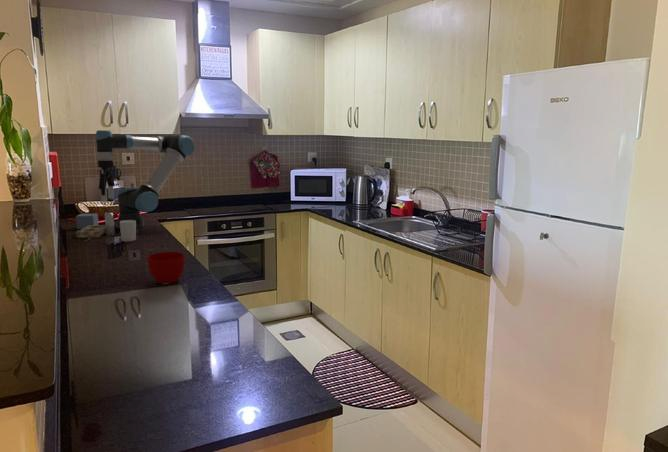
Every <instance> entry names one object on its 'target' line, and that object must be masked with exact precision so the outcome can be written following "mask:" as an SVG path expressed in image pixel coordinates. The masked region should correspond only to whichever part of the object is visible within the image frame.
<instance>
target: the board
mask: <svg viewBox="0 0 668 452" xmlns="http://www.w3.org/2000/svg"><path fill="white" fill-rule="evenodd" d="M104 234H106V225H105V224H100V225H99V224H98V225H88V226H86V227H84V228H82V229H81V230H77V231H76V232H75V235H76V236H75V238H78V239H79V238H99V237H101V236H102V235H104Z"/></svg>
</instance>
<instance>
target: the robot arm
mask: <svg viewBox="0 0 668 452" xmlns="http://www.w3.org/2000/svg"><path fill="white" fill-rule="evenodd" d="M95 141H96V142H95V143H96V144H95V145H96V158H97V160H98V161H97V167H98V168H100V170H99V183H98V190H100V200H101V202H108V199H115V191H114V187H115V186H116V183H115V179H114V175H113V169H112V168H114V160H113V159H114V153H113V151H114V150H113V149H116V150H117V149H125V150H141V151H143V150H144V151H154V152H155V153H163V154H165V155H164V157H163V158H162V159H161V161H160V162H159V164H158V165H157V167H156V168H155V170H154V171H153V173H152V174H151V175H150V177H149V178H148V180H147V181H146V182H145V183H144V184H143V183H142V184H141V185H140V186H139V187H128V188H119V189H118V190H117V204H118V216H117V221H116V224H115V225H116V229H120V223H119V222H120V221H124V220H135V221H136V229H139V228H143V227H144V226H145V221H144V219H143V217H142V215H141V212H142V213H148V212H152V211H154V210H155V209H157V207H158V205H159V197H160V193H159V192H160V191H161V189H162V188H163V186H164V185H165V184H166V182H167V180H168V179H169V177H170V176H171V174H173V171H174V170H175V169H176V167H177V166H178V165H179V163H180V162H184V161H185V159H186V157H187V156H191V155H193V154H194V152H195V148H196V147H195V142H194V140H193V139H192V138H191V136H189V135H185V134H184V135H173V134H172V135H163V136H162V135H161V136H158V135H157V136H154V137H152V136H151V137H150V136H149V137H148V136H136V135H130V134H113V133H112V131H111V130H102V129H101V130H96V132H95ZM107 185H108V186H107ZM107 193H108V194H107Z"/></svg>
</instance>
